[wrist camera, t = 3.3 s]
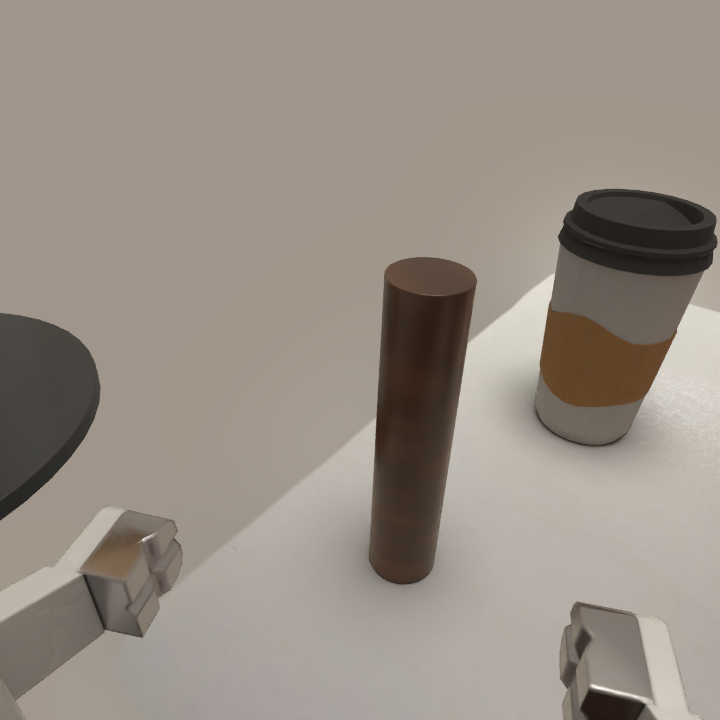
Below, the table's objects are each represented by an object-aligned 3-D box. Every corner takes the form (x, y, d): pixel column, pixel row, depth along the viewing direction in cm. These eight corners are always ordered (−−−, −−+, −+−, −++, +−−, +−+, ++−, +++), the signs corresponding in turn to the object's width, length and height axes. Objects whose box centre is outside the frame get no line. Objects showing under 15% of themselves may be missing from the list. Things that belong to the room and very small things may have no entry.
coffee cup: (664, 421, 39) (751, 212, 31) (606, 477, 35) (690, 247, 27) (559, 370, 45) (610, 178, 36) (495, 412, 40) (538, 203, 32)
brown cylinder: (380, 590, 28) (401, 299, 19) (361, 536, 30) (373, 260, 22) (443, 576, 29) (493, 290, 20) (420, 524, 31) (454, 253, 23)
